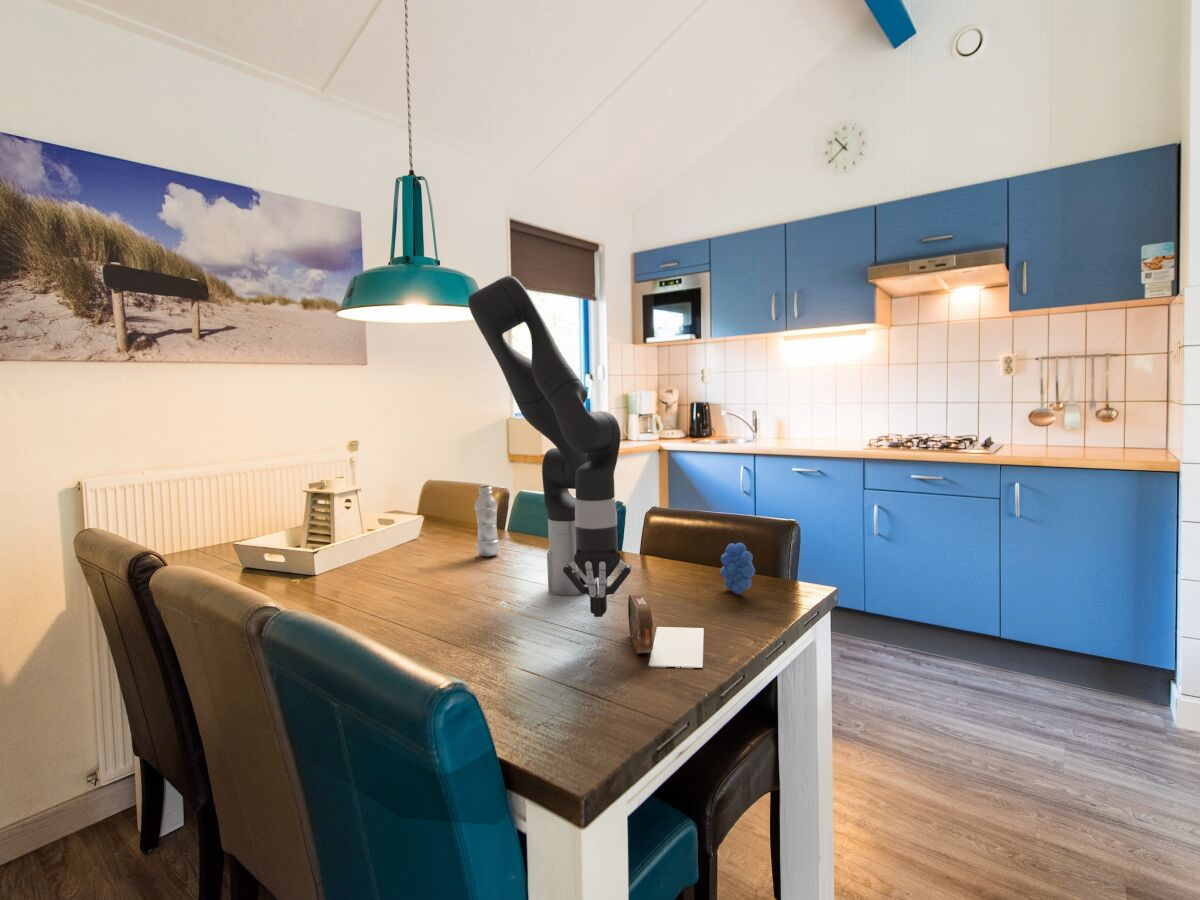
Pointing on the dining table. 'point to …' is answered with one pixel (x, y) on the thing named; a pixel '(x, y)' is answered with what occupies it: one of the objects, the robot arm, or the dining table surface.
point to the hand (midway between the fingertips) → (599, 615)
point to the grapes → (737, 568)
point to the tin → (640, 623)
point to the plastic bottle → (487, 522)
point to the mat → (677, 647)
